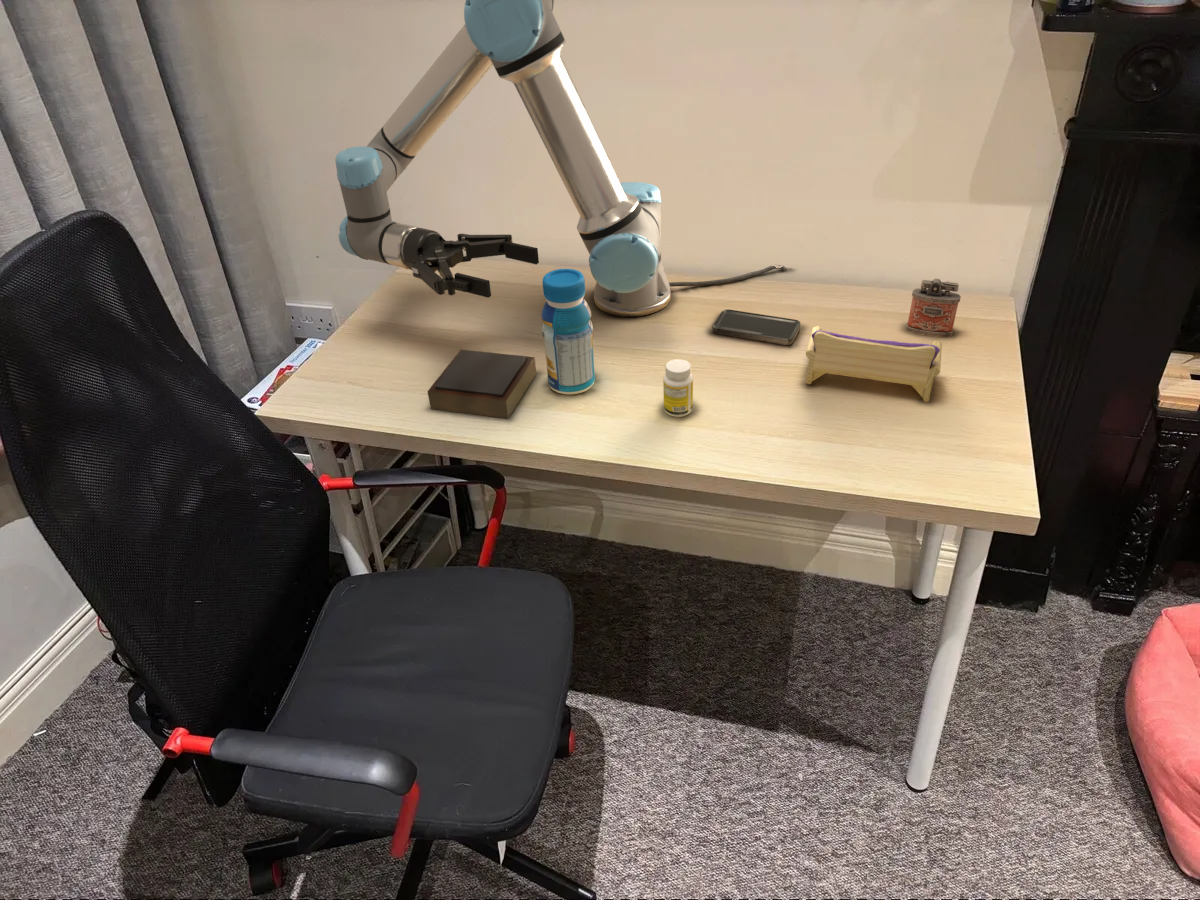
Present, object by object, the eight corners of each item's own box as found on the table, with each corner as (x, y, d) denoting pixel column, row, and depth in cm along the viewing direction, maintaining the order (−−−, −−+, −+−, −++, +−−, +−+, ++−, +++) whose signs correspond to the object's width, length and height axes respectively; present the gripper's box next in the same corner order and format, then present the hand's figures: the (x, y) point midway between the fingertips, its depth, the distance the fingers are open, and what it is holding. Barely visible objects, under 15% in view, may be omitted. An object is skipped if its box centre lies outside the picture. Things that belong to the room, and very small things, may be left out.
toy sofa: (935, 375, 145) (946, 321, 139) (933, 403, 138) (945, 348, 132) (809, 359, 151) (814, 307, 145) (801, 385, 144) (807, 332, 138)
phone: (723, 308, 165) (801, 320, 159) (723, 313, 165) (801, 325, 160) (711, 327, 159) (791, 340, 154) (710, 333, 160) (790, 346, 154)
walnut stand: (536, 374, 152) (534, 354, 149) (508, 418, 141) (505, 398, 139) (463, 365, 155) (460, 346, 153) (430, 408, 144) (426, 389, 142)
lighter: (904, 332, 157) (914, 282, 151) (906, 323, 159) (916, 274, 153) (951, 338, 154) (963, 288, 148) (953, 330, 156) (964, 279, 150)
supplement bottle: (676, 397, 143) (677, 354, 138) (698, 408, 141) (699, 364, 135) (657, 410, 141) (657, 366, 136) (679, 421, 138) (679, 376, 133)
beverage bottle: (578, 401, 144) (570, 293, 132) (537, 388, 148) (526, 282, 136) (605, 377, 150) (599, 271, 137) (565, 365, 153) (556, 261, 141)
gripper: (462, 242, 161) (556, 263, 152) (370, 298, 145) (470, 325, 135) (456, 203, 157) (553, 223, 148) (360, 256, 140) (463, 282, 131)
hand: (513, 272), depth 141 cm, fingers open, 13 cm apart
